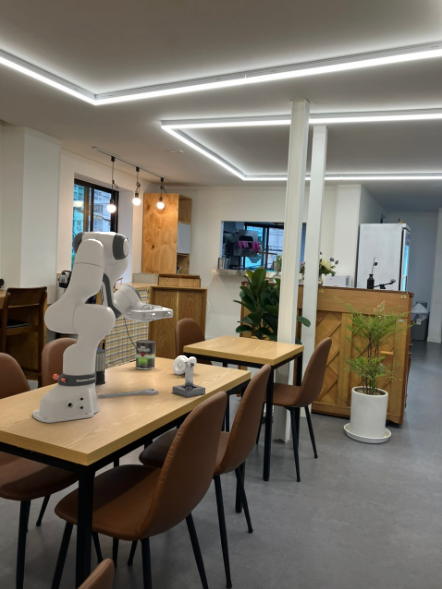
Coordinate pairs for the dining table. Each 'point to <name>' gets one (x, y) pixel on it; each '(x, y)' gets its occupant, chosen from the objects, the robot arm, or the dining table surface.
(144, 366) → the coffee can
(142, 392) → the adjustable wrench
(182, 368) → the white knot
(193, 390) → the socket block
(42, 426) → the dining table surface
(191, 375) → the keyed metal peg
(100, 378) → the milk frother
